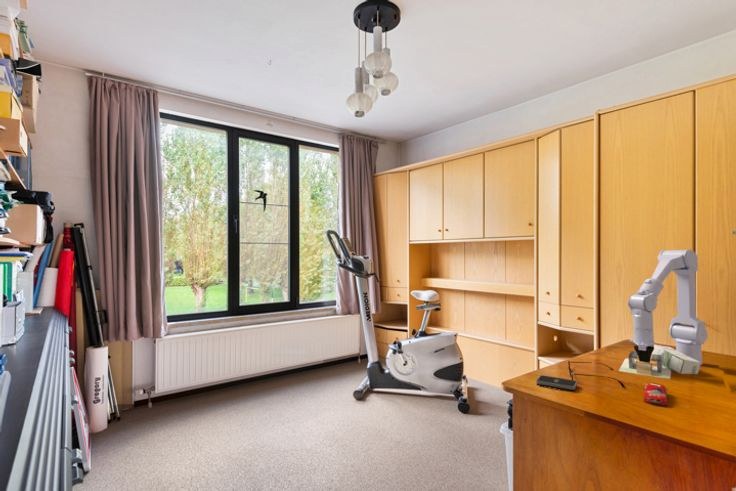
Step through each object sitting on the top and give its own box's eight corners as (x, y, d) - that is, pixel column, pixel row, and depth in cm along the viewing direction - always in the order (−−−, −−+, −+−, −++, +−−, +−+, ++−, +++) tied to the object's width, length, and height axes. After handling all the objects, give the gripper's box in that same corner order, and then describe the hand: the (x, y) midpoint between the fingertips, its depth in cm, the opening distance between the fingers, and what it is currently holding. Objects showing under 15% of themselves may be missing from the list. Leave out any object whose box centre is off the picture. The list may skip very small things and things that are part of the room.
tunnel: (631, 363, 138) (630, 351, 138) (662, 367, 132) (661, 355, 132) (629, 368, 132) (628, 355, 132) (661, 372, 126) (660, 359, 126)
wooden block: (638, 369, 130) (637, 361, 130) (652, 371, 127) (651, 362, 127) (636, 373, 126) (636, 364, 126) (651, 375, 123) (650, 366, 123)
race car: (667, 409, 100) (666, 394, 101) (642, 404, 104) (642, 390, 104) (668, 395, 110) (668, 381, 111) (646, 391, 114) (645, 378, 114)
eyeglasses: (566, 370, 137) (566, 359, 137) (617, 375, 130) (616, 363, 130) (570, 384, 122) (569, 371, 122) (627, 390, 115) (626, 377, 115)
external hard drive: (541, 380, 125) (540, 375, 125) (578, 387, 119) (577, 380, 119) (536, 386, 120) (536, 380, 120) (574, 393, 113) (574, 387, 113)
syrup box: (701, 362, 123) (669, 346, 138) (683, 359, 124) (653, 343, 138) (697, 378, 124) (665, 360, 138) (679, 375, 124) (649, 358, 139)
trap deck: (625, 362, 144) (625, 358, 144) (671, 368, 135) (671, 364, 135) (618, 375, 129) (618, 370, 129) (670, 383, 119) (670, 378, 119)
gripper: (631, 324, 138) (633, 360, 138) (627, 330, 127) (628, 369, 127) (655, 326, 133) (656, 363, 133) (652, 332, 122) (654, 373, 122)
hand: (644, 367), depth 129 cm, fingers closed
